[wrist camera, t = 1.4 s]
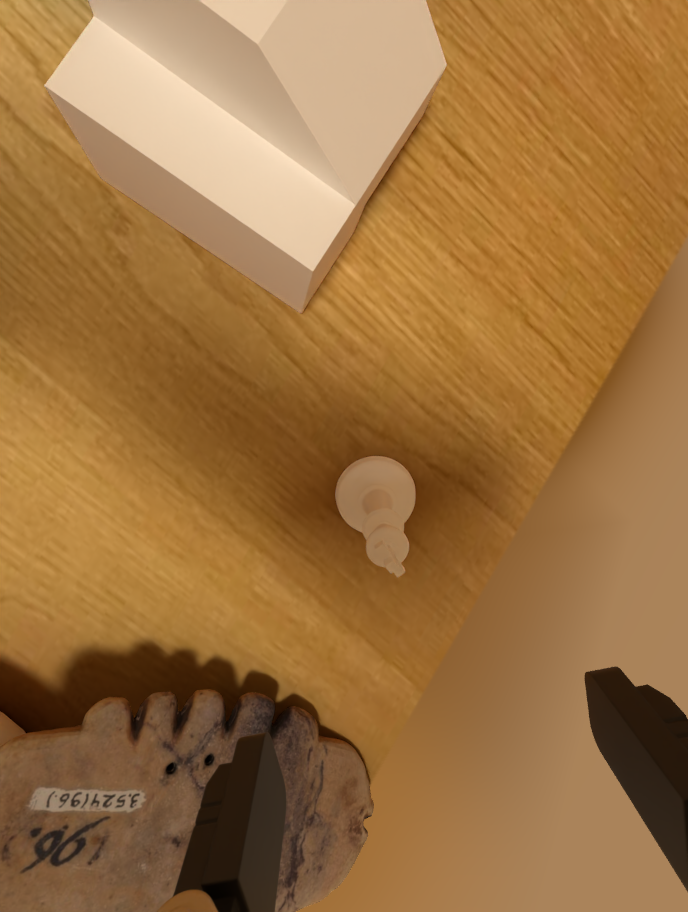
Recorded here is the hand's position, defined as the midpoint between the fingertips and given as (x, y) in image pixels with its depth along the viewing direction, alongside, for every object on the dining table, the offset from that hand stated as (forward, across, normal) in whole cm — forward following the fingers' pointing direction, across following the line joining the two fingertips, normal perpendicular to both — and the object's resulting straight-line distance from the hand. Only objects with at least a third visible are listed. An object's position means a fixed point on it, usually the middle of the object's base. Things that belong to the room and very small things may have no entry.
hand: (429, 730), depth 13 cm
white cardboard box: (+14, +6, -25) cm, 29 cm away
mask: (+18, +5, +23) cm, 29 cm away
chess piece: (+19, 0, 0) cm, 19 cm away
